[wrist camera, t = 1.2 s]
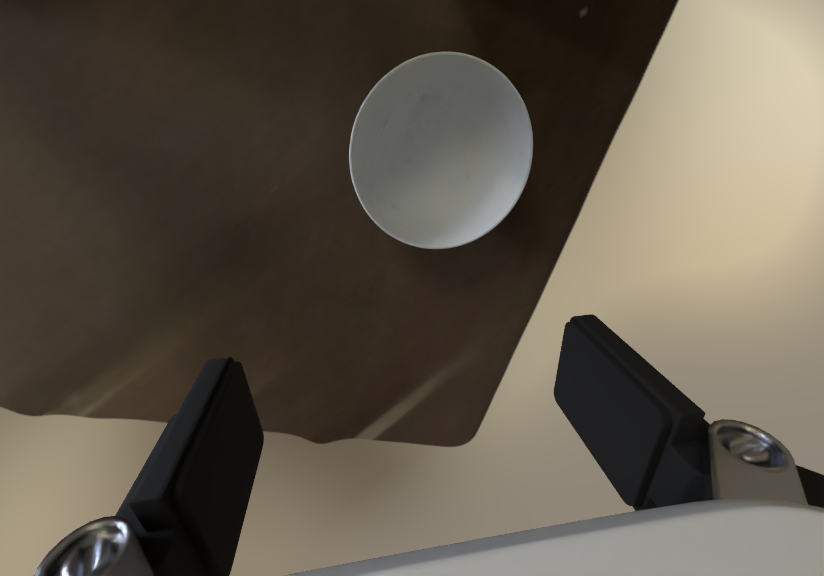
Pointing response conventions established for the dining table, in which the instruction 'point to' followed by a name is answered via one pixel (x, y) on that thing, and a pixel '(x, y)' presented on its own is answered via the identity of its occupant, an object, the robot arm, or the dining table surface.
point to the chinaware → (441, 150)
